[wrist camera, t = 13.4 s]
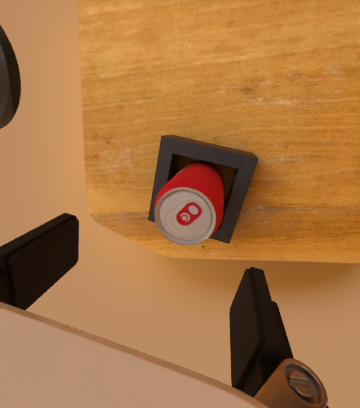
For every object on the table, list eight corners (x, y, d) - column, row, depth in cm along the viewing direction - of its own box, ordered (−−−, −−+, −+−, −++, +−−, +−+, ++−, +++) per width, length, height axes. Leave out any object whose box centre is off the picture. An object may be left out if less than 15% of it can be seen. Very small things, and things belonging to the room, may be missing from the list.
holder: (158, 208, 30) (147, 220, 26) (171, 134, 27) (161, 135, 22) (229, 227, 29) (229, 243, 25) (253, 153, 25) (258, 158, 21)
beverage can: (169, 182, 29) (134, 215, 18) (200, 149, 26) (181, 164, 15) (201, 213, 29) (185, 263, 18) (234, 183, 27) (239, 221, 16)
